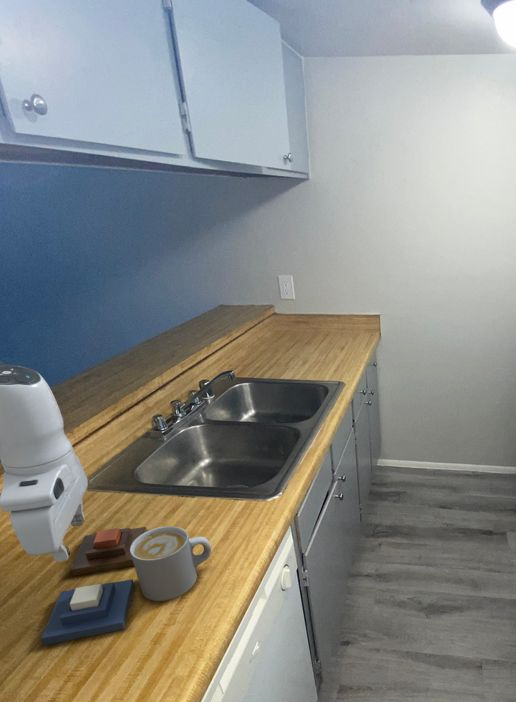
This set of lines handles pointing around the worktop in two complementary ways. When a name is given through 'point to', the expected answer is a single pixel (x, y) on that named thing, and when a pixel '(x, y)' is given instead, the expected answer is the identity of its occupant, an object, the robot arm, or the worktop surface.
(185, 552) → the coffee mug
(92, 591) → the white square button cap
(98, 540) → the red square button
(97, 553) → the brown stepped button base
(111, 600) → the blue stepped button base
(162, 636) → the worktop surface
